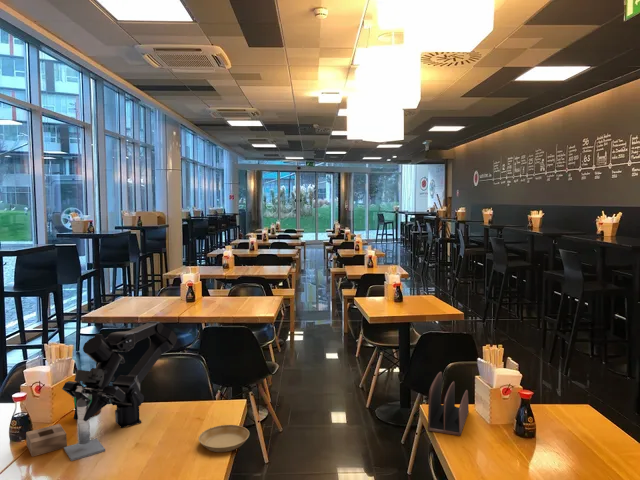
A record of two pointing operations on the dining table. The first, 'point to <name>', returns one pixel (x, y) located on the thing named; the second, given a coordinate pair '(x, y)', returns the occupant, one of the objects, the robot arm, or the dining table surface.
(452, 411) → the letter holder
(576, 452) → the dining table surface
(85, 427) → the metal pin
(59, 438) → the block
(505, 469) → the dining table surface
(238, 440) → the plant saucer
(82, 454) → the slate pad
